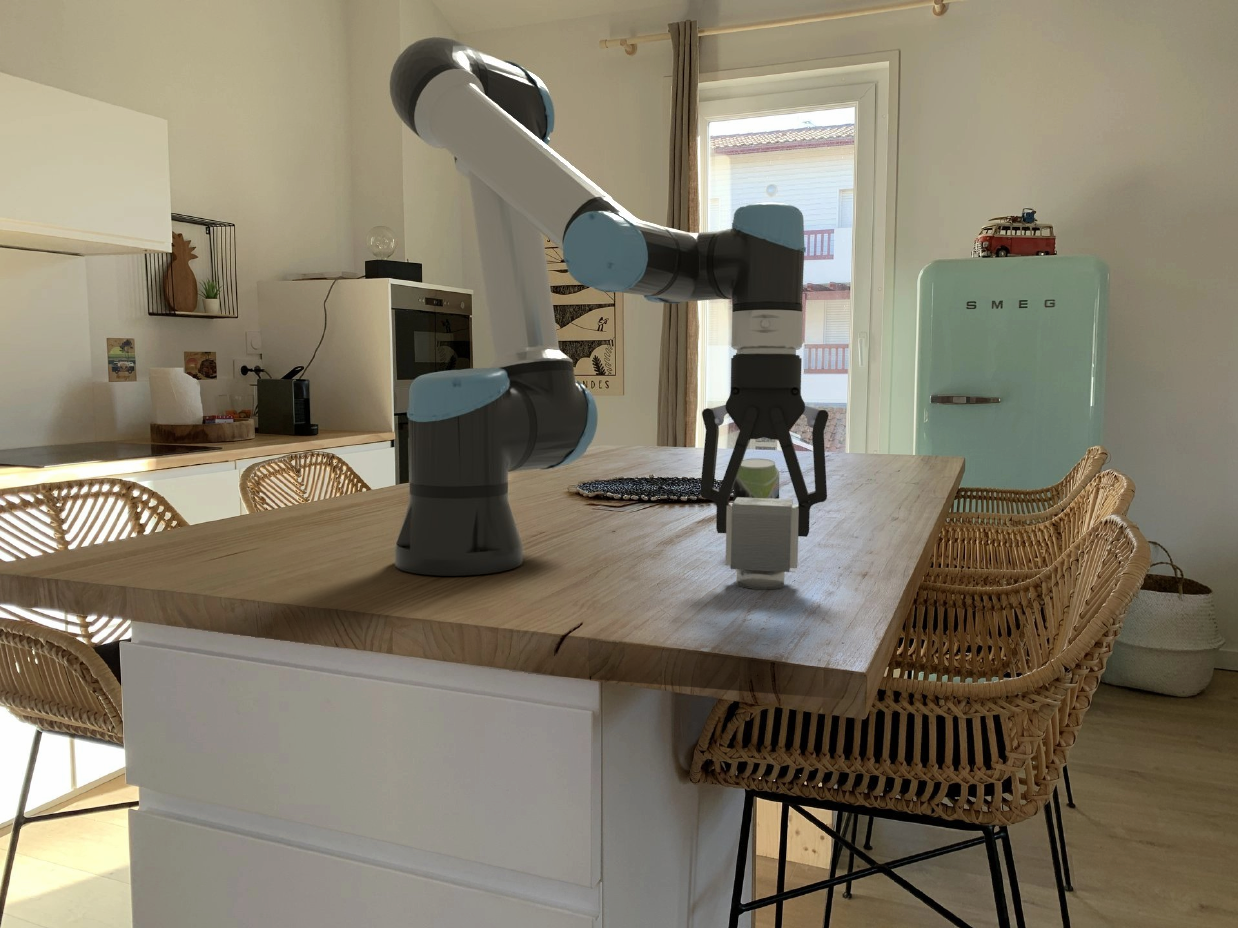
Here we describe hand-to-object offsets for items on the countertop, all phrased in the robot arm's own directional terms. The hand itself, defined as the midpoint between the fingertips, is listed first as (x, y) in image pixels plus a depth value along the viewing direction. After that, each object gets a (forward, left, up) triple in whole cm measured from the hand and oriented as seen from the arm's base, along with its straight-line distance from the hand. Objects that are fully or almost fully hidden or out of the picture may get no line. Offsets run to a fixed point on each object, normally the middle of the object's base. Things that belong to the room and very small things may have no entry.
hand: (761, 563), depth 102 cm
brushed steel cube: (0, 0, 0) cm, 0 cm away
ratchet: (0, +6, -2) cm, 6 cm away
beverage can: (-2, +22, -3) cm, 22 cm away
